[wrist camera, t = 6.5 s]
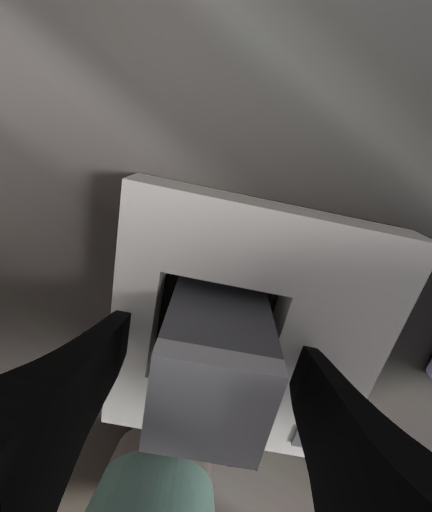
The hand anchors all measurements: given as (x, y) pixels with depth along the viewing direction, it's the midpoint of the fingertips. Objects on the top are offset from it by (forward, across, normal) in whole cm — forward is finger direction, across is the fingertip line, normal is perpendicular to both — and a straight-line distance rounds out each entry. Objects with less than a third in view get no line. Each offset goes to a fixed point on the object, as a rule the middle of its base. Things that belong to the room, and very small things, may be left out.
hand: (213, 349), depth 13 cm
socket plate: (+3, -2, 0) cm, 3 cm away
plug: (+3, 0, 0) cm, 3 cm away
